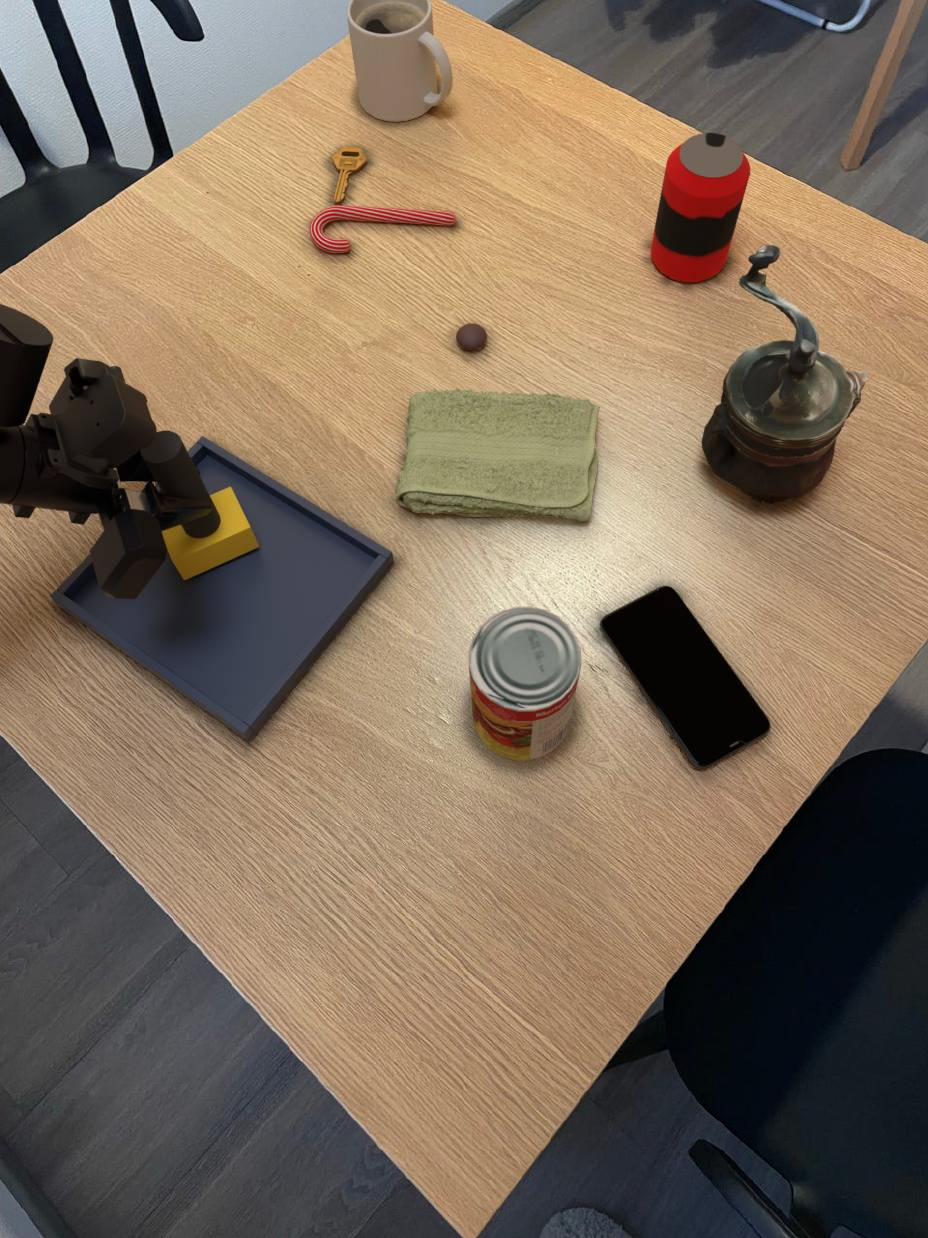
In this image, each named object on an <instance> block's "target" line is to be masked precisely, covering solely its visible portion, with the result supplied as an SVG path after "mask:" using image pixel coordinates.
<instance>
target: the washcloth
mask: <svg viewBox="0 0 928 1238" xmlns="http://www.w3.org/2000/svg"><path fill="white" fill-rule="evenodd" d="M407 408H408V409H407V418H406V421H407V427H406V429H405V438H404V439H405V440H406V441H407V445H406V453H405V460H404V461H403V463H402V465H401V467H400V473H399V476H398V478H397V484H396V488H395V491H394V492H395V501H396V502H397V504H399V505H400V506H402V507H404V508H407V509H409V510H411V511H412V512H413V513H415V514H430V515H438V514H442V513H443V515H445V514H449V515H457V516H459V517H469V518H491V517H495V518H496V517H515V518H518V517H520V518H522V517H523V518H534V517H537V518H539V517H540V518H545V517H548V518H551V517H558V518H559V519H563V518H564V519H571V520H576V521H578V522H580V523H581V522H585V521H590V516H591V511H592V502H593V492H594V489H595V483H596V481H597V480H596V479H597V478H596V477H597V473H598V466H599V461H598V459H599V457H598V450H597V446H596V442H595V437H596V429H597V421H598V417H599V412H600V408H601V406H600V405H598V404H594V403H592V402H591V401H590V400H589V399H581V398H579V397H578V398H575V397H571V396H566V395H560V394H559V393H549V392H548V393H545V394H540V393H534V392H531V393H529V394H527V393H522V392H519V393H516V392H509V393H507V392H506V391H503V392H500V393H499V392H497V391H484V390H482V391H480V392H477V391H475V390H472V389H463V390H461V389H458V388H456V389H454V390H453V389H450V390H448V389H445V390H437V389H435V388H434V389H431V390H424V391H417V392H415V393H414V394H412V395H410V396H409V398H408V406H407Z"/></svg>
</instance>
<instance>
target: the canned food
mask: <svg viewBox="0 0 928 1238" xmlns="http://www.w3.org/2000/svg"><path fill="white" fill-rule="evenodd" d="M581 670H582V649H581V645H580V643H579V640H578V637H577V635H576V634H575V633H574V631H573V629H572V628H571V627H570V625H569V624H567V622H565V621H564V620H563V619H562V618H561V617H560V616H558V615H556V614H555V613H553V612H551V611H548V610H547V609H544V608H539V607H534V606H513V607H510V608H506V609H502V610H500V611H498V612H496V613H495V614H493V615H491V616H489V617H488V618H487V619H486V620H485V621H484V622H483V623H481V625H479V627H478V629H477V630H476V632H475V633H474V635H473V637H472V639H471V642H470V645H469V650H468V672H469V673H468V675H469V684H470V685H469V686H470V698H471V699H470V700H471V710H472V721H473V725H474V728H475V732H476V734H477V735H478V737H479V738H480V741H481V742H482V743H483V744H484V745H485V746H486V747H487V748H488V749H489V750H490V751H491V752H493V753H495V754H496V755H499V756H500V757H502V758H504V759H508V760H511V761H517V762H518V761H520V762H521V761H526V762H527V761H532V760H537V759H540V758H543V757H544V756H547V755H548V754H549V753H551V752H553V751H554V750H555V749H556V748H557V747H558V746H559V745H560V744H561V743H562V742H563V740H564V738H565V736H566V735H567V733H568V731H569V728H570V722H571V719H572V714H573V710H574V704H575V699H576V693H577V689H578V684H579V680H580V675H581Z"/></svg>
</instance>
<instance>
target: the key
mask: <svg viewBox="0 0 928 1238" xmlns="http://www.w3.org/2000/svg"><path fill="white" fill-rule="evenodd" d="M344 155H345V156H344ZM347 155H358V156H347ZM331 159H332V163H333V165H334V167H335V169H336V171H337V172H339V176H338V180H337V185H336V187H335V188H336V189H335V193H334V197H333V200H334V203H335V204H341V201H344V199H345V197H346V189H347V188H348V187H349V186H350V184H349V183H348V180H349V178H350V177H349V176H351V175H353V174H355V173H358V172H359V171H360V170H362V169H363V167H364V166H366V164H367V163H368V158H367V156H366V155H365V152H364V150H363V148H361V147H358V146H357V147H356V146H355V147H354V146H343V147H341V148H340V149H339V150H338V151H336V153H334V154H333V156H332V157H331Z"/></svg>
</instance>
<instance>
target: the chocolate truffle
mask: <svg viewBox="0 0 928 1238" xmlns="http://www.w3.org/2000/svg"><path fill="white" fill-rule="evenodd" d="M487 339H488V334H487V331H486V329H485V328H484V327H483V326H482V325H480V324H478V323H474V322H473V323H471V322H469V323H466V324H463V325H461V326H460V327H459V328H458V330H457V331H456V334H455V340H456V343H457V344H458V346H459V347H461V348H462V349H464V350H467V351H476V350H479V349H481V348H482V347H483V346H484V345H486V342H487Z"/></svg>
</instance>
